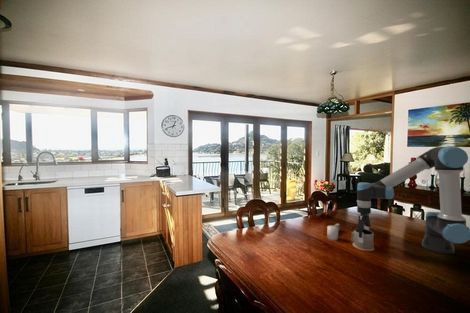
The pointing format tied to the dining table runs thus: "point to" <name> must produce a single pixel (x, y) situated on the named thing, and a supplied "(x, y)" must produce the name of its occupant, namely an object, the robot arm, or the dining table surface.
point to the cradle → (351, 233)
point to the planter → (364, 239)
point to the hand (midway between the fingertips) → (363, 239)
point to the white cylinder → (332, 233)
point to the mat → (363, 249)
